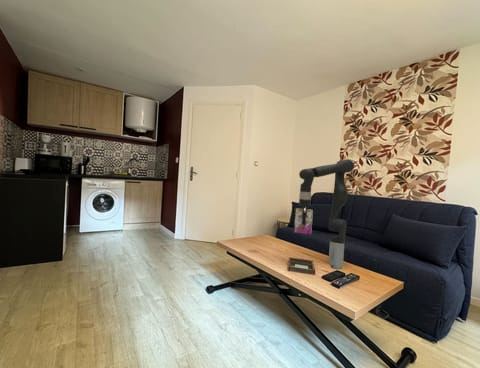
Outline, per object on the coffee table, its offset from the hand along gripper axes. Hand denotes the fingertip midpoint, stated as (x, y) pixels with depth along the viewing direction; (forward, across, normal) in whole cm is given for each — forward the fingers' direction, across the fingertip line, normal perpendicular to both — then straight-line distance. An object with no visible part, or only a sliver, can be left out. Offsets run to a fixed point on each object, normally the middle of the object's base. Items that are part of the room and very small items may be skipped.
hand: (303, 223), depth 154 cm
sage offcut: (+28, +9, 0) cm, 29 cm away
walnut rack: (+29, +5, 0) cm, 30 cm away
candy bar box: (+7, 0, 0) cm, 7 cm away
